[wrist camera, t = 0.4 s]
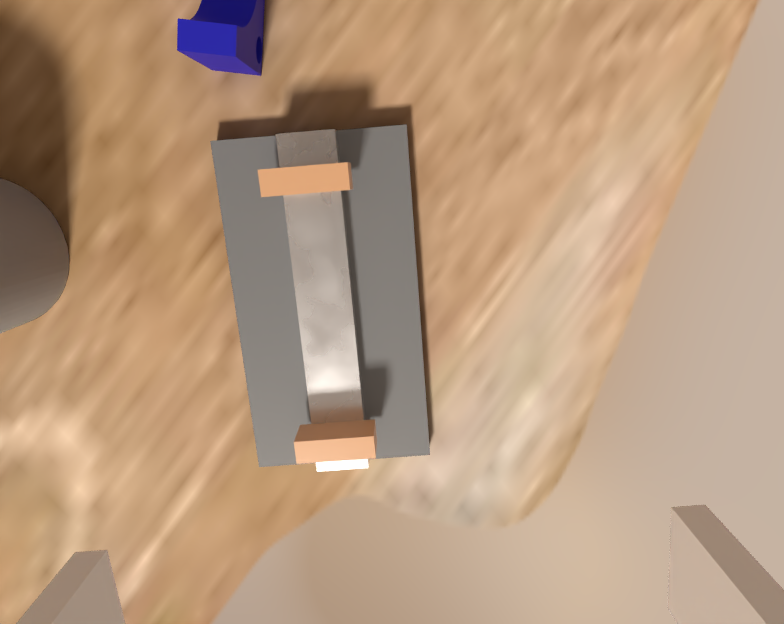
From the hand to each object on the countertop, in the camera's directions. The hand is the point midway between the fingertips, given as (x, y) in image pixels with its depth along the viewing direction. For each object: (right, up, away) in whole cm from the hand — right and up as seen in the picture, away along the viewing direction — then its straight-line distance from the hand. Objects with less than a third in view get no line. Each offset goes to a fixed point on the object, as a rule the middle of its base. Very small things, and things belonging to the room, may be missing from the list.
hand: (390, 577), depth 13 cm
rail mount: (-4, +7, +25) cm, 26 cm away
